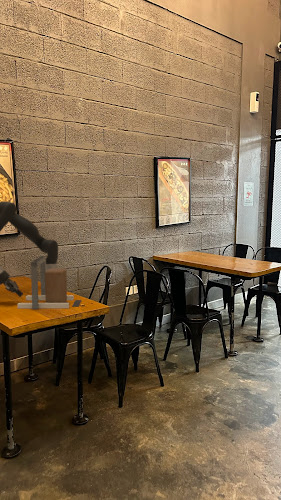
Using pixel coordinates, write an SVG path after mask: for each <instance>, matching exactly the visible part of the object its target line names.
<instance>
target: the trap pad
mask: <svg viewBox="0 0 281 500" xmlns="http://www.w3.org/2000/svg"><path fill="white" fill-rule="evenodd" d="M81 303H82V299H75V300H74V302H73V304H72V305H71V307H73V308H74V307H75V308H76V307H78V308H79V307H80V305H81Z"/></svg>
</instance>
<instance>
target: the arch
mask: <svg viewBox="0 0 281 500" xmlns="http://www.w3.org/2000/svg"><path fill="white" fill-rule="evenodd" d="M46 258H47V255H46V256H43V255H42V256H41V255H40V256H39V257H38V258H36V259H34V260H33V261H31V262H30V273H31V279H30V280H31V295H32V300H31V303H32V308H31V310H39V309H40V308H39V303H40V302H39V300H38V295H39V274H38V272H39V271H38V270H39V269H40V295H45V271H46ZM38 267H40V268H39V269H38Z"/></svg>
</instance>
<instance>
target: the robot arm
mask: <svg viewBox="0 0 281 500" xmlns="http://www.w3.org/2000/svg"><path fill="white" fill-rule="evenodd" d="M17 210H18V209H17V205H16V204H15V203H14V202H11V201H4V200H3V201H0V232H1V231H3V229H4V228H5V227H6V225H7V224H8V223H9V224H11V225H12V226H13V227H14V228H15V229H16V230H18V232H20V234H22V235H23V236H24V237H25V238H27V239H28V240H30V241H31V242H32V244H34V245H35V246H36V247H37V248H38V249H39V250H40V251H41V252H42V253H44V254H47V255H46V271H47V270H49V269H51V268H53V269H58V258H59V245H58V242H57V241H56V240H54V239H47V238H45V237H43V236H42V235H41V234H40V232H39V230H38V229H39V228H38V227H37V226H36V225H35V224H34V223H33V222H31V221H30V220H29V219H28V218H25V217H24V216H23V215H20V214H18V213H17ZM10 277H11V275H10V274H9V272H7V271H6V269H4V268H3V267H1V266H0V285H4V288H5V290H7V291H9V292H10V293H13V294H16V295H18V297H19V298H21V297H22V296H23V295H24V293H23V292H22V291H21V290H20V289H19V285H18V284H17V282H16V281H15V280H12V279H11V278H10Z"/></svg>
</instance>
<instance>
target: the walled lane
mask: <svg viewBox="0 0 281 500" xmlns="http://www.w3.org/2000/svg"><path fill="white" fill-rule="evenodd" d="M25 301H32V294H31V295H26V296H25ZM38 301H46V298H45V295H41V294H40V295H39V294H38ZM67 301H74V295H72V294H70V295H68V294H67ZM38 303H39V309H70V302H66V303H46V302H38ZM17 309H32V302H19V303H17Z"/></svg>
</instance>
